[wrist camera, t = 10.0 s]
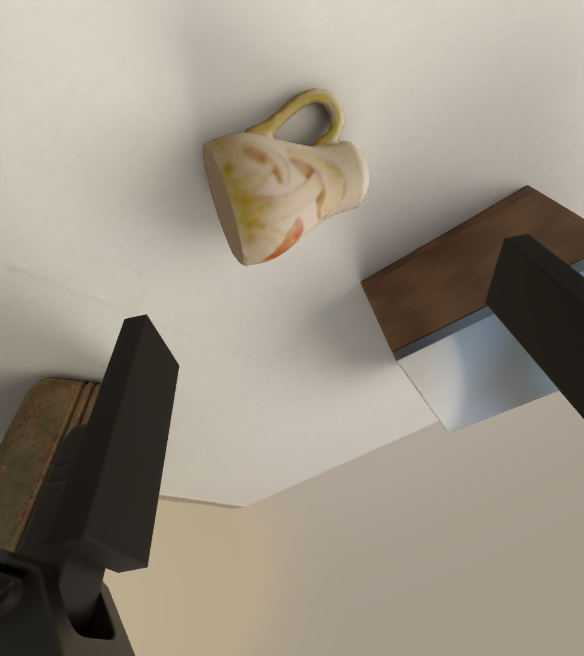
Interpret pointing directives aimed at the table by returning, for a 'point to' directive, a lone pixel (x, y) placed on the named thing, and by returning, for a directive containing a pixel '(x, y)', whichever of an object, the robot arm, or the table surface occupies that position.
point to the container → (37, 448)
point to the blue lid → (474, 369)
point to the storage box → (465, 265)
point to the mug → (282, 181)
